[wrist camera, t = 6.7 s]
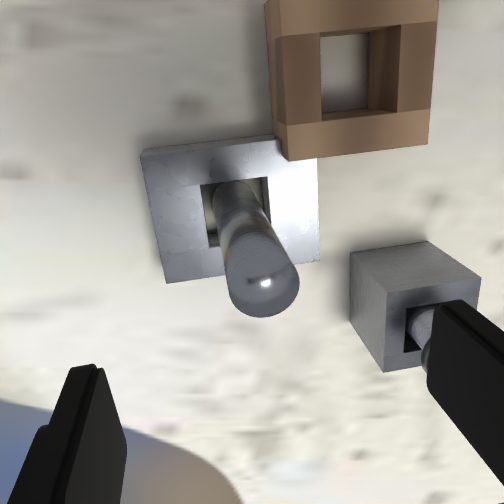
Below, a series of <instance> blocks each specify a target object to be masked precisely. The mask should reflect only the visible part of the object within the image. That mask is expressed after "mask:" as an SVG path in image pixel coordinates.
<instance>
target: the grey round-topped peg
mask: <svg viewBox="0 0 504 504" xmlns="http://www.w3.org/2000/svg"><path fill="white" fill-rule="evenodd" d="M212 206H213V211H214V216H215V221H216V227H217V232H218V237H219V243H220V248H221V253H222V259H223V264H224V269H225V274H226V280H227V285H228V290H229V295H230V298H231V301H232V303H233V304H234V305H235V307H236V308H237V309H238V310H240V311H241V312H242V313H244V314H246V315H249V316H252V317H258V318H263V317H270V316H274V315H276V314H278V313H281V312H282V311H284V310H285V309H286V308H288V307H289V306H290V305H291V304H292V302H293V301H294V299H295V298H296V296H297V294H298V290H299V276H298V273H297V270H296V268H295V267H294V265H293V263H292V261H291V260H290V258H289V256H288V254H287V252H286V251H285V249H284V247H283V245H282V244H281V242H280V240H279V238H278V236H277V235H276V233H275V231H274V229H273V228H272V226H271V224H270V222H269V220H268V219H267V217H266V215H265V213H264V212H263V210H262V208H261V206H260V204H259V203H258V201H257V199H256V197H255V196H254V194H253V192H252V190H251V189H250V188H249V187H248V186H247V185H246V184H245V183H243V182H240V181H227V182H225V183H223V184H221V185H220V186H219V187H218V188H217V189H216V190H215V192H214V194H213V198H212Z"/></svg>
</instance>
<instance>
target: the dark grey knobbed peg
mask: <svg viewBox="0 0 504 504" xmlns="http://www.w3.org/2000/svg"><path fill="white" fill-rule="evenodd" d="M436 308H438V305H437V304H436V303H435V304H428V305H422V306H416V307H410V308H406V322H405V330H406V331H407V332H408V333H409V335H410V336H411V337H412V338H413V339H414V340H415V342H416V343H417V344H418V345H419V346H420V347H421V349H422V353H421V364H422V367H423V369H424V371H425V372H426V373H427V370H428V360H429V350H430V340H431V330H432V320H433V312H434V310H435V309H436Z"/></svg>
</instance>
